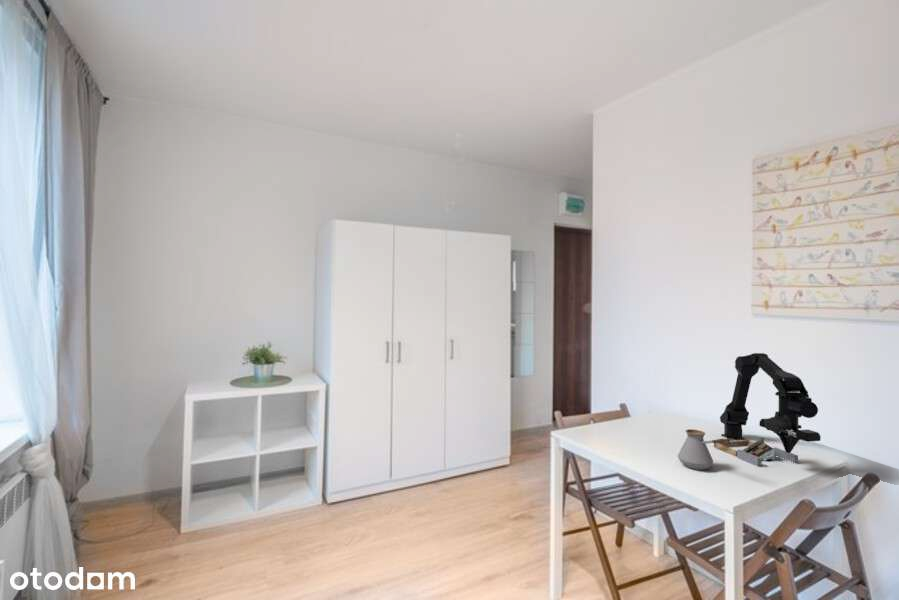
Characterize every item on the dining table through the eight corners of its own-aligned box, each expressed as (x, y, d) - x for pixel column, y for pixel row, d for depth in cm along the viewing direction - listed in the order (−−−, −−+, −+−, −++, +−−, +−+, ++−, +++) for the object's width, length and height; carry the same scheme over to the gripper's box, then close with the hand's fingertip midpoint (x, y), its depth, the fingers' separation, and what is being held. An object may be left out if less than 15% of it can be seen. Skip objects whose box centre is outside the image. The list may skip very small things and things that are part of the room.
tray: (714, 447, 177) (714, 442, 177) (748, 444, 180) (748, 440, 180) (736, 456, 167) (736, 451, 167) (772, 454, 170) (772, 449, 170)
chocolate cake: (755, 464, 160) (777, 443, 160) (738, 453, 166) (760, 432, 166) (763, 477, 164) (785, 456, 164) (746, 465, 170) (768, 445, 170)
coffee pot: (670, 462, 161) (670, 423, 161) (693, 458, 164) (693, 420, 164) (722, 485, 140) (723, 441, 140) (747, 481, 144) (747, 437, 144)
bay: (737, 457, 165) (737, 450, 165) (775, 454, 169) (775, 447, 169) (757, 466, 157) (757, 458, 157) (798, 463, 160) (798, 455, 160)
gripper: (747, 404, 162) (747, 445, 162) (795, 418, 144) (794, 463, 144) (771, 403, 164) (771, 443, 164) (821, 416, 146) (821, 461, 146)
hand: (788, 452), depth 154 cm, fingers closed
